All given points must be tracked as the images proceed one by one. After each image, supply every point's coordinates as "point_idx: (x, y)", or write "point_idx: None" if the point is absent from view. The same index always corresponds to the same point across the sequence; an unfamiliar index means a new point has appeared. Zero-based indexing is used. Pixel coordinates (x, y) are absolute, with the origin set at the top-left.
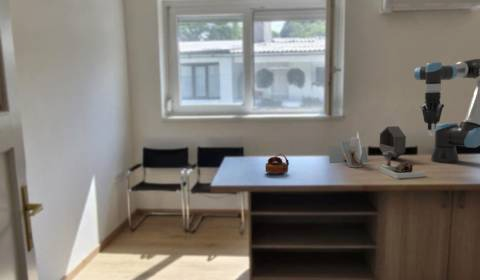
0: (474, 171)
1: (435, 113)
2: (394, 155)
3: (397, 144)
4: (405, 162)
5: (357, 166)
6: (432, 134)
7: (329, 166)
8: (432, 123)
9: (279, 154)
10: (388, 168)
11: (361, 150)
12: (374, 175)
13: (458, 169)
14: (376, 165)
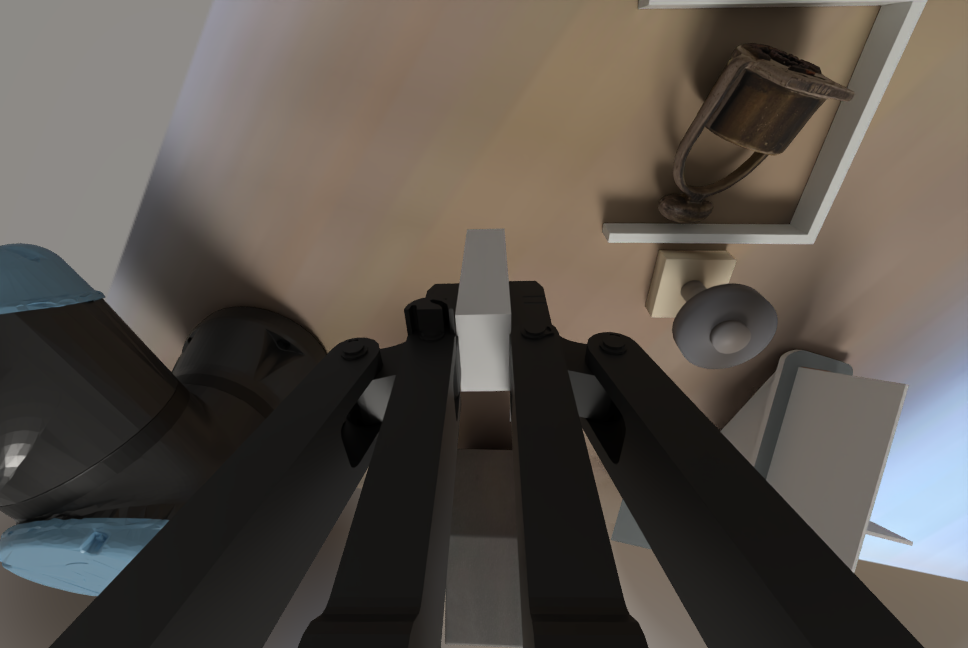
0: (197, 66)
1: (400, 519)
2: (719, 291)
3: (505, 490)
4: (814, 80)
5: (813, 353)
6: (494, 236)
7: (914, 399)
8: (461, 365)
9: None
10: (750, 230)
11: (903, 398)
12: (933, 138)
13: (282, 156)
14: (675, 363)
